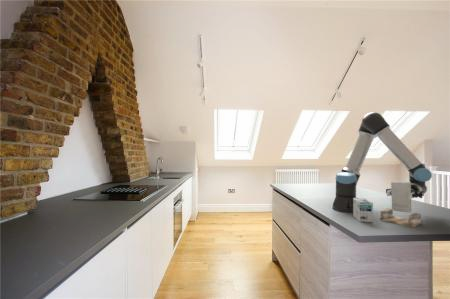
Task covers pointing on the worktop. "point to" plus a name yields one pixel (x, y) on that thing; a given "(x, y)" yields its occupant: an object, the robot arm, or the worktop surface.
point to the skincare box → (401, 196)
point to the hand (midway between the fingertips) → (398, 194)
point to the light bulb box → (362, 210)
